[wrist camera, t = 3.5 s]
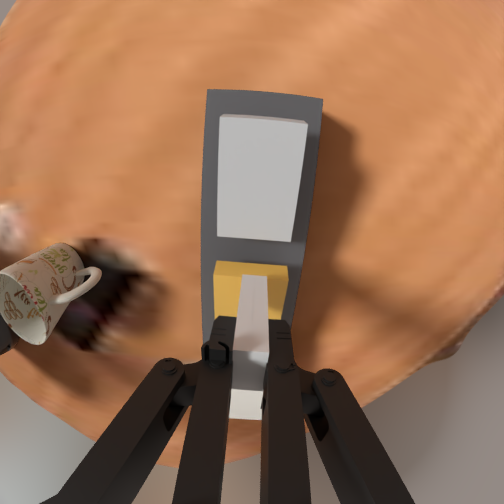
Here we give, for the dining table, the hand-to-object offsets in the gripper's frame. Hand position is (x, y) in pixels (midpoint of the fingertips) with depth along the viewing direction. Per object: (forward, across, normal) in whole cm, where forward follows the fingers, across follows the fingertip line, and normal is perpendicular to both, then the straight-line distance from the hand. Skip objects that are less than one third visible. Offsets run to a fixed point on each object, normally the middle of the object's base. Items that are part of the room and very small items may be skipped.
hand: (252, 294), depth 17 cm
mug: (+9, -20, -4) cm, 23 cm away
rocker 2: (+3, 0, -3) cm, 5 cm away
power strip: (+9, 0, -6) cm, 11 cm away
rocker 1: (+3, 0, +7) cm, 7 cm away
